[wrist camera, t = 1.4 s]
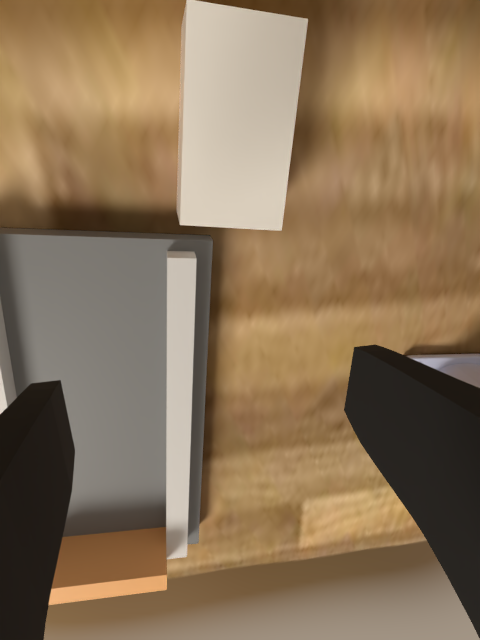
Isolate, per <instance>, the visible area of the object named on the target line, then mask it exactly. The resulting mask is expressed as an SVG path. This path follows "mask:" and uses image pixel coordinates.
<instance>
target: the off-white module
mask: <svg viewBox="0 0 480 640" xmlns="http://www.w3.org/2000/svg"><path fill="white" fill-rule="evenodd" d="M307 24H308V19H305V18H299V17H293V16H287V15H281V14H275V13H269V12H263V11H257V10H250V9H244V8H238V7H232V6H226V5H220V4H214V3H208V2H202V1H196V0H187V1H186V6H185V11H184V17H183V22H182V31H181V68H180V106H179V143H178V180H177V215H178V219H179V223H180V225H187V226H205V227H223V228H241V229H259V230H277V231H282V223H283V215H284V207H285V199H286V191H287V183H288V175H289V167H290V160H291V152H292V144H293V136H294V128H295V120H296V112H297V104H298V96H299V88H300V80H301V72H302V64H303V56H304V48H305V40H306V32H307Z"/></svg>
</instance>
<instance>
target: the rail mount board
mask: <svg viewBox="0 0 480 640" xmlns="http://www.w3.org/2000/svg"><path fill="white" fill-rule="evenodd" d="M212 248H213V240H212V238H211V237H210V235H188V234H161V233H134V232H106V231H79V230H52V229H25V228H0V414H1V413H2V412H3V411H4V410H5V409H6V408H7V407H8V406H9V405H10V404H11V403H12V402H13V401H14V400H15V399H16V398H17V397H18V396H19V395H20V394H21V393H22V392H23V391H24V390H25V389H26V388H27V387H28V386H29V385H30V384H31V383H39V382H48V381H56V380H61V384H62V389H63V394H64V399H65V404H66V408H67V413H68V418H69V423H70V428H71V433H72V437H73V442H74V447H75V460H74V473H73V484H72V493H71V499H70V504H69V508H68V513H67V518H66V523H65V528H64V532H63V537H62V542H61V547H60V551H59V556H58V561H57V565H56V570H55V575H54V579H53V584H52V589H51V594H50V599H49V605H51V604H60V603H66V602H74V601H83V600H91V599H98V598H106V597H114V596H122V595H129V594H138V593H145V592H153V591H160V590H166V589H167V559H172V558H181V557H187V544H196V543H198V542H199V521H200V500H201V479H202V458H203V437H204V416H205V395H206V374H207V353H208V332H209V311H210V290H211V269H212Z"/></svg>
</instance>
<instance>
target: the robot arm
mask: <svg viewBox="0 0 480 640" xmlns="http://www.w3.org/2000/svg"><path fill="white" fill-rule="evenodd" d="M344 411H345V413H346V415H347V417H348V419H349V421H350V423H351V425H352V427H353V429H354V431H355V433H356V435H357V437H358V439H359V441H360V443H361V444H362V446H363V447H364V449H365V450H366V452H367V453H368V454H369V456H370V457H371V459H372V460H373V462H374V463H375V465H376V466H377V468H378V469H379V470H380V472H381V473H382V475H383V476H384V477H385V479H386V480H387V482H388V483H389V485H390V486H391V487H392V489H393V490H394V492H395V493H396V495H397V496H398V497H399V499H400V500H401V502H402V503H403V504H404V506H405V507H406V509H407V510H408V512H409V513H410V514H411V516H412V517H413V519H414V520H415V522H416V523H417V525H418V527H419V528H420V530H421V531H422V533H423V534H424V536H425V538H426V539H427V541H428V543H429V545H430V547H431V548H432V550H433V552H434V554H435V555H436V557H437V559H438V561H439V562H440V564H441V566H442V568H443V569H444V571H445V573H446V575H447V576H448V578H449V580H450V582H451V584H452V586H453V588H454V590H455V592H456V593H457V595H458V597H459V599H460V601H461V603H462V605H463V606H464V608H465V610H466V612H467V614H468V616H469V618H470V620H471V622H472V624H473V626H474V628H475V630H476V632H477V634H478V636H479V638H480V354H442V355H409V356H404V355H402V354H399V353H397V352H394V351H392V350H389V349H387V348H384V347H381V346H378V345H369V346H360V347H354V352H353V358H352V365H351V371H350V377H349V383H348V390H347V396H346V402H345V408H344ZM74 460H75V447H74V442H73V437H72V433H71V428H70V423H69V418H68V413H67V408H66V404H65V399H64V394H63V389H62V384H61V380H56V381H48V382H39V383H31V384H30V385H29V386H28V387H27V388H26V389H25V390H24V391H23V392H22V393H21V394H20V395H19V396H18V397H17V398H16V399H15V400H14V401H13V402H12V403H11V404H10V405H9V406H8V407H7V408H6V409H5V410H4V411H3V412H2V413H1V414H0V640H43V639H44V630H45V622H46V616H47V610H48V605H49V599H50V594H51V589H52V584H53V579H54V575H55V570H56V565H57V561H58V556H59V551H60V547H61V542H62V537H63V532H64V528H65V523H66V518H67V513H68V508H69V504H70V499H71V493H72V484H73V473H74Z"/></svg>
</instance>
